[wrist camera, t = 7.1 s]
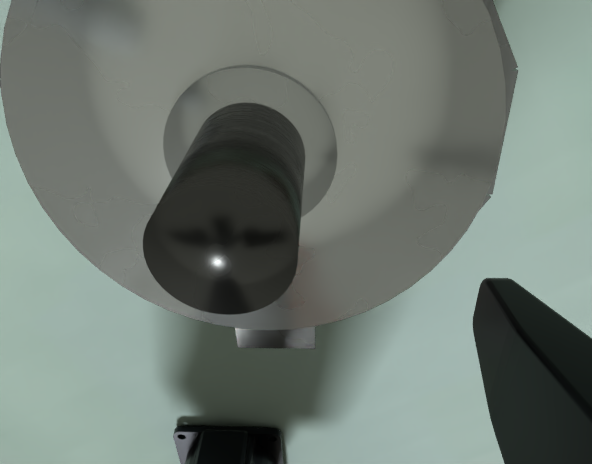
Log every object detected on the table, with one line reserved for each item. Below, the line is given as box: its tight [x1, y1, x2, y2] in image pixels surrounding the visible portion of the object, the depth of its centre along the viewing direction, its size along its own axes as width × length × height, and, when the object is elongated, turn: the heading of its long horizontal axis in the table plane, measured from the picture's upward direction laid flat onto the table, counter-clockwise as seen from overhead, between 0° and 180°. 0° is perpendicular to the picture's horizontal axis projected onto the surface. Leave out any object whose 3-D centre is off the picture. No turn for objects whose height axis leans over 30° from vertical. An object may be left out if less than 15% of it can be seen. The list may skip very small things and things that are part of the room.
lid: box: [1, 0, 506, 330], centre depth 11 cm, size 13×13×5 cm
